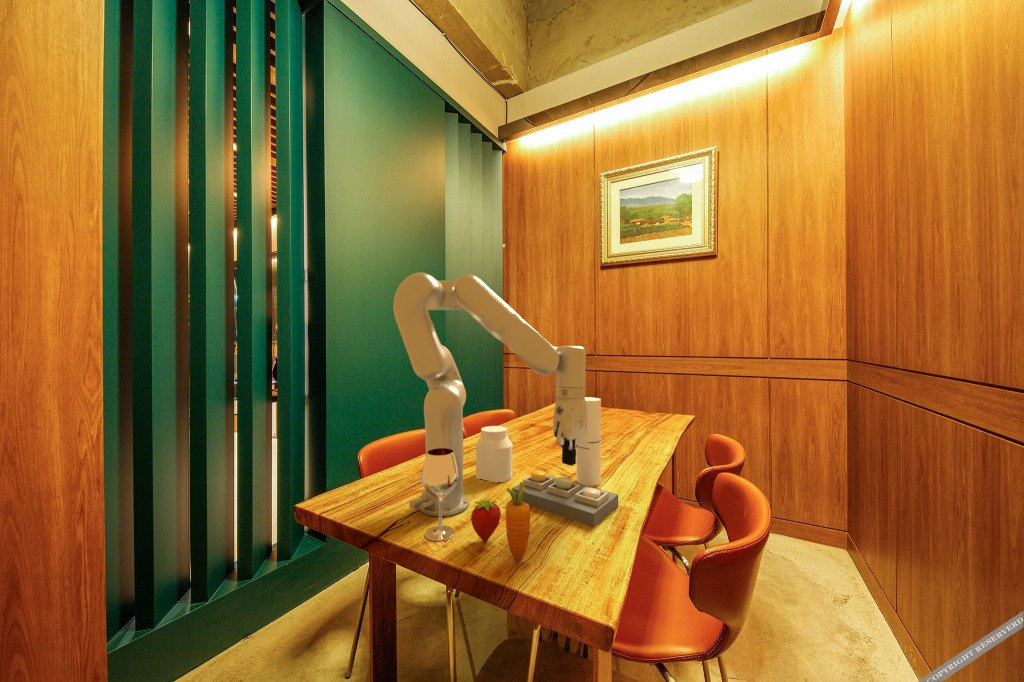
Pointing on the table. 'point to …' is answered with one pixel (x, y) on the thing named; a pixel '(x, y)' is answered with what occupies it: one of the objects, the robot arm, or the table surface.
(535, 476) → the amber button
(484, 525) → the strawberry
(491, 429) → the jar
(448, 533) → the wineglass
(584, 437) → the cylindrical container
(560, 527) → the table surface
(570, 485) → the sage button
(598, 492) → the cream button
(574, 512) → the button panel
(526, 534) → the carrot
